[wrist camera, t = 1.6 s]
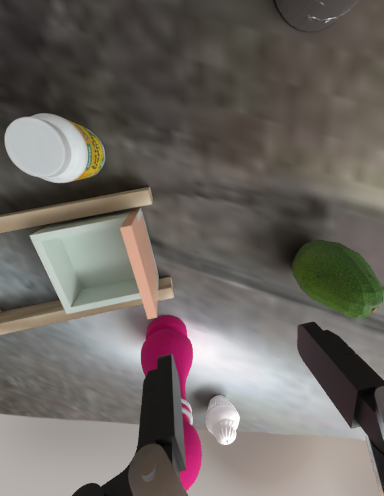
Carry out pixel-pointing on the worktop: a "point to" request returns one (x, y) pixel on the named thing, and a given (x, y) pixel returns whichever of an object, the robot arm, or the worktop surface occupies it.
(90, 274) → the drawer
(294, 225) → the worktop surface
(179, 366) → the pepper mill
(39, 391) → the worktop surface
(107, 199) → the bay
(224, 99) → the worktop surface
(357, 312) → the avocado
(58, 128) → the supplement bottle
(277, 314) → the worktop surface
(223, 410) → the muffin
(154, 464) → the robot arm
